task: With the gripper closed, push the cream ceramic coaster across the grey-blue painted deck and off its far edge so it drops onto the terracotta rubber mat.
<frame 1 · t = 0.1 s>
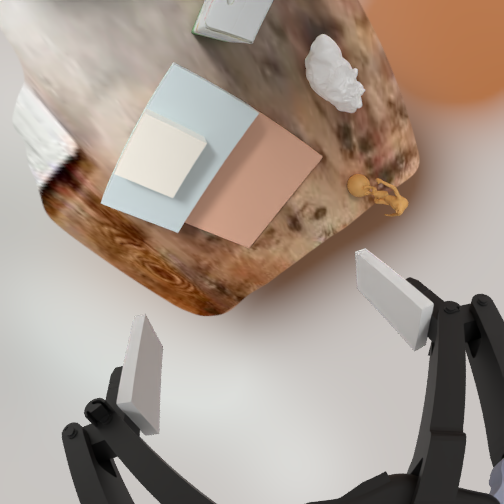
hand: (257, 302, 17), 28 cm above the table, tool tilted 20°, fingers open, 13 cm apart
white tied bag: (320, 72, 34), on the table
deck: (173, 146, 36), on the table
ink box: (222, 10, 26), on the table
figurine: (356, 176, 48), on the table
mat: (249, 184, 43), on the table
coaster: (159, 150, 32), point 4 cm above the table, touching deck
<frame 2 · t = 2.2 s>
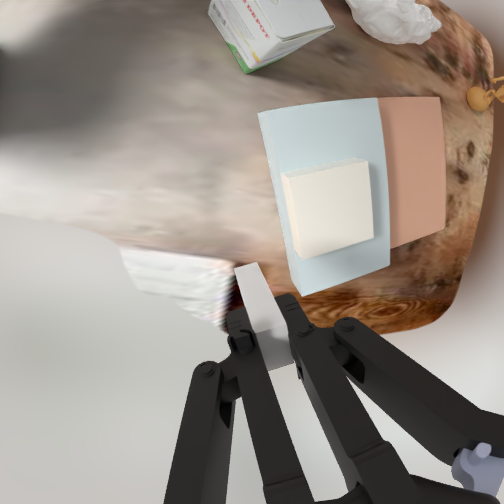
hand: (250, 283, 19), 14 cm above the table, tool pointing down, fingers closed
white tied bag: (372, 24, 25), on the table
deck: (326, 190, 32), on the table
ink box: (247, 34, 24), on the table
figurine: (468, 92, 30), on the table
mat: (410, 171, 33), on the table
coaster: (325, 203, 28), point 4 cm above the table, touching deck
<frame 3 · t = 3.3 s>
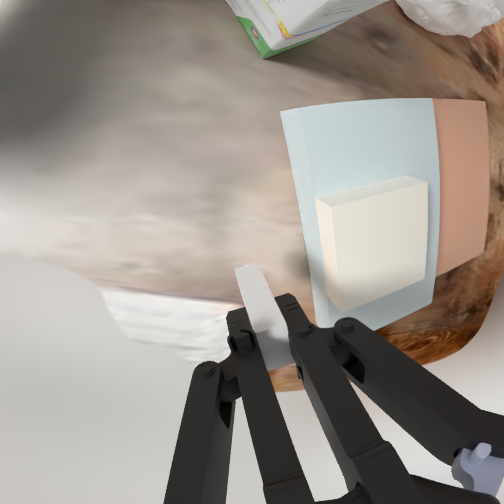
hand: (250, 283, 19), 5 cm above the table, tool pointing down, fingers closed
white tied bag: (413, 10, 17), on the table
deck: (364, 214, 25), on the table
ink box: (264, 8, 16), on the table
mat: (455, 188, 26), on the table
coaster: (368, 235, 21), point 4 cm above the table, touching deck
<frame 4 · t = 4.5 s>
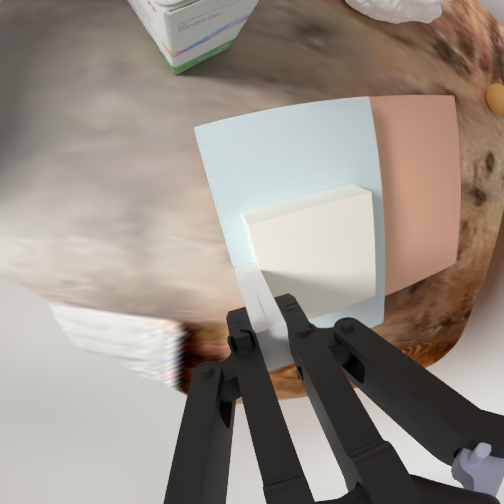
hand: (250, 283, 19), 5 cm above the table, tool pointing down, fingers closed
deck: (297, 229, 24), on the table
ink box: (180, 21, 16), on the table
figurine: (487, 90, 22), on the table
mat: (415, 195, 25), on the table
coaster: (308, 250, 21), point 4 cm above the table, touching gripper
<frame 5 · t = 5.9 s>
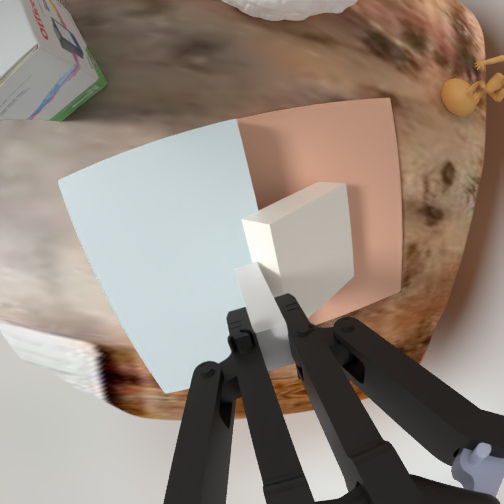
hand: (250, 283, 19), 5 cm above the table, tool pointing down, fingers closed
deck: (187, 263, 23), on the table
ink box: (66, 64, 15), on the table
figurine: (445, 88, 21), on the table
mat: (335, 220, 24), on the table
coaster: (294, 248, 22), point 3 cm above the table, tilted 30°
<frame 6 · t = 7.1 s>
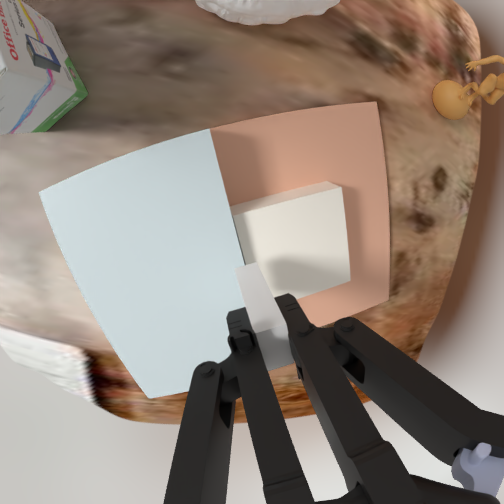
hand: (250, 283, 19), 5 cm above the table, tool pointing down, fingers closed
white tied bag: (242, 2, 16), on the table
deck: (168, 272, 23), on the table
ink box: (49, 75, 15), on the table
figurine: (437, 90, 21), on the table
mat: (318, 229, 24), on the table
coaster: (289, 239, 23), point 1 cm above the table, touching mat
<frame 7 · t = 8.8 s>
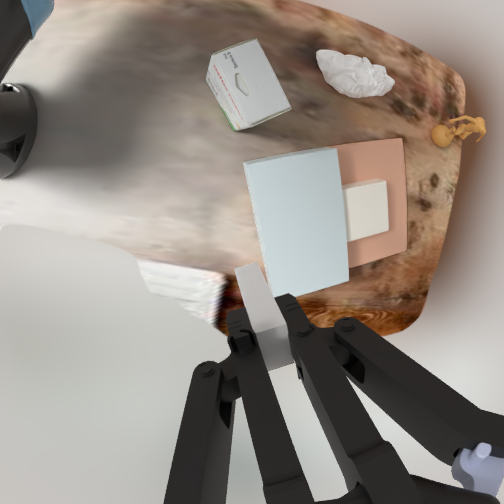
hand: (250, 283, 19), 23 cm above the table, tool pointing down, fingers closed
white tied bag: (342, 79, 36), on the table
deck: (296, 220, 42), on the table
ink box: (236, 97, 35), on the table
figurine: (434, 129, 40), on the table
mat: (371, 203, 43), on the table
coaster: (358, 207, 43), point 1 cm above the table, touching mat
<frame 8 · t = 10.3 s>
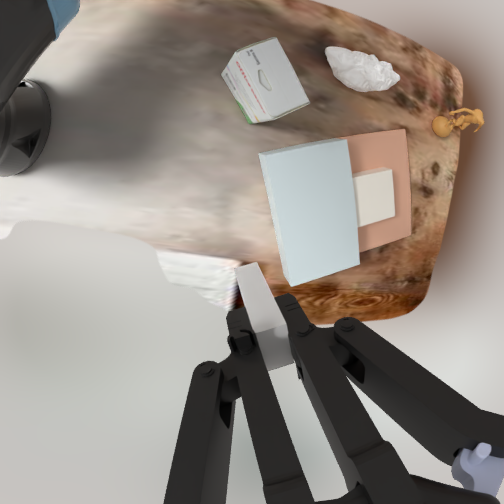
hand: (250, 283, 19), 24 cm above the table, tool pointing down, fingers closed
white tied bag: (348, 74, 37), on the table
deck: (309, 208, 44), on the table
ink box: (250, 91, 36), on the table
figurine: (434, 120, 42), on the table
mat: (378, 190, 45), on the table
coaster: (366, 194, 44), point 1 cm above the table, touching mat
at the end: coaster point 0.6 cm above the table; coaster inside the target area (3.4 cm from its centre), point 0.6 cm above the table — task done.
